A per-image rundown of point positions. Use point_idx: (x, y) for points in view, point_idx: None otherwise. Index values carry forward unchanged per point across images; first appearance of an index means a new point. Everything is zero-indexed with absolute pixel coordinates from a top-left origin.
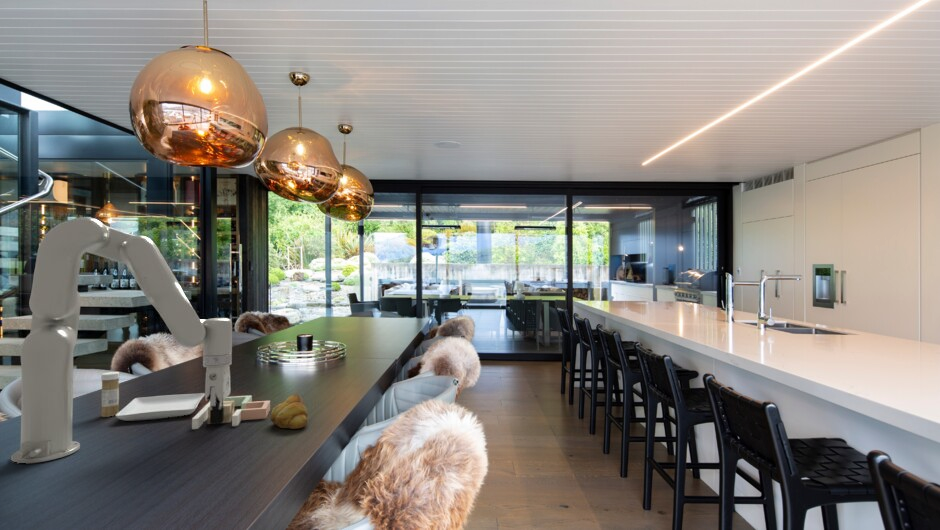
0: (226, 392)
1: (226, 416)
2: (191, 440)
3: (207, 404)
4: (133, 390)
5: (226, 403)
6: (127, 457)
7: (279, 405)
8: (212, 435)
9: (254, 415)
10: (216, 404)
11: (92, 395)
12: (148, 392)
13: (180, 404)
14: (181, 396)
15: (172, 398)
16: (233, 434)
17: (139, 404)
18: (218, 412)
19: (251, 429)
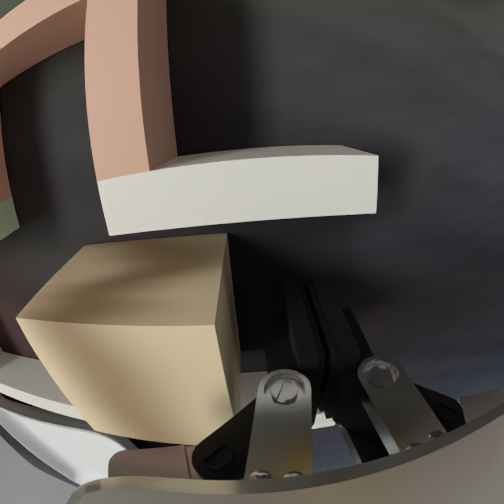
0: (502, 500)
1: (225, 282)
2: (473, 316)
3: (54, 410)
4: (16, 450)
5: (112, 370)
6: (485, 386)
7: None
8: (464, 257)
9: (159, 45)
10: (457, 411)
11: (57, 477)
12: (11, 441)
13: (40, 429)
14: (16, 434)
15: (33, 444)
16: (488, 151)
17: (83, 473)
18: (369, 352)
19: (435, 49)
